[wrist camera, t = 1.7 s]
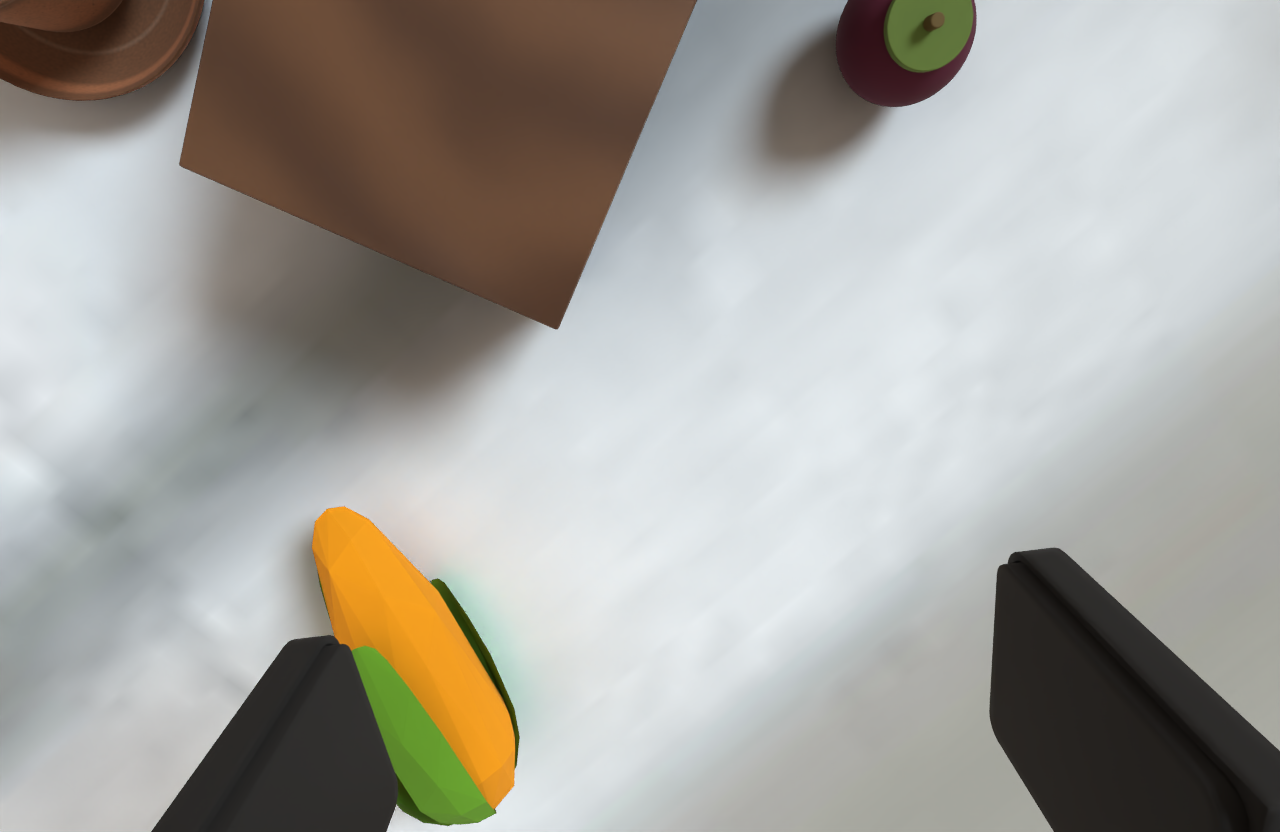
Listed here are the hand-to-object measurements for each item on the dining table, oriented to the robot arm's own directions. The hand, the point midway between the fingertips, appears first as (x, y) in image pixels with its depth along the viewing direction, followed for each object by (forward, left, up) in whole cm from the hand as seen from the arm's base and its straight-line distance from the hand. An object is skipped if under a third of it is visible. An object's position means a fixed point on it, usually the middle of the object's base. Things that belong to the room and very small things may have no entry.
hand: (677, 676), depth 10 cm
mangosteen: (+4, +14, -24) cm, 28 cm away
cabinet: (-10, +7, -24) cm, 27 cm away
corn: (-4, -22, -25) cm, 33 cm away
